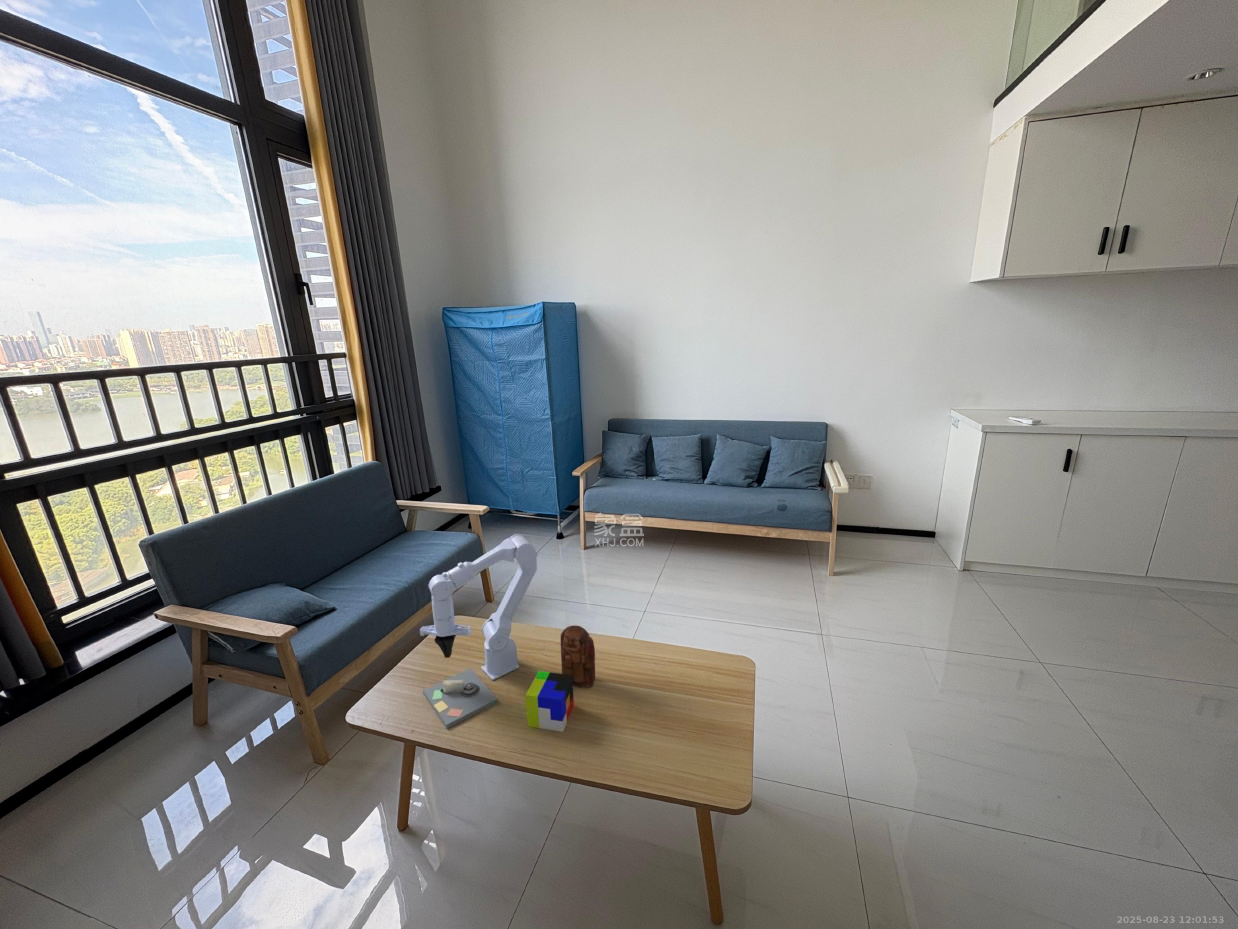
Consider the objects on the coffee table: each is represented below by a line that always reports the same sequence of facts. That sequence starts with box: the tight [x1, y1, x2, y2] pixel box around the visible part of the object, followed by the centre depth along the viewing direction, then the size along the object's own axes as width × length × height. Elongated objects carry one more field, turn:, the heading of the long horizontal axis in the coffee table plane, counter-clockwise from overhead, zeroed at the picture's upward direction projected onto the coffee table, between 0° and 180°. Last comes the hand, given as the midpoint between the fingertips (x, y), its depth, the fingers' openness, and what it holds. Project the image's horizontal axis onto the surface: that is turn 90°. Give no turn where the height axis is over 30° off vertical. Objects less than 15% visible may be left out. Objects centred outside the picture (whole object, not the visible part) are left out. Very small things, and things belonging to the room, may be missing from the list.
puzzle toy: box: [525, 670, 575, 733], centre depth 135 cm, size 10×10×10 cm
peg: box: [440, 679, 477, 695], centre depth 144 cm, size 10×4×3 cm, turn 93°
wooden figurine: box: [560, 625, 596, 689], centre depth 148 cm, size 12×6×18 cm, turn 72°
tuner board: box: [422, 668, 498, 729], centre depth 143 cm, size 15×18×1 cm
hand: (448, 655), depth 147 cm, fingers closed
